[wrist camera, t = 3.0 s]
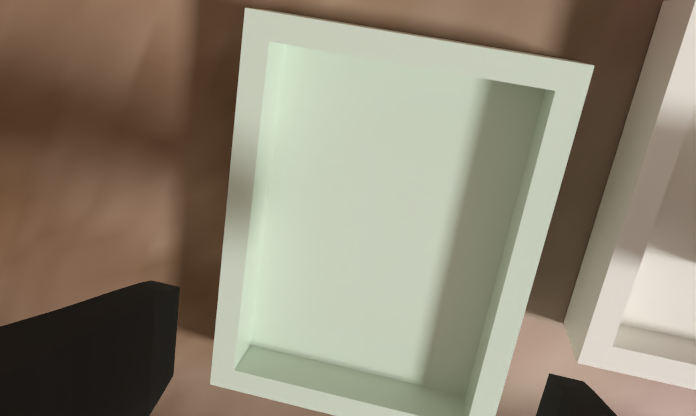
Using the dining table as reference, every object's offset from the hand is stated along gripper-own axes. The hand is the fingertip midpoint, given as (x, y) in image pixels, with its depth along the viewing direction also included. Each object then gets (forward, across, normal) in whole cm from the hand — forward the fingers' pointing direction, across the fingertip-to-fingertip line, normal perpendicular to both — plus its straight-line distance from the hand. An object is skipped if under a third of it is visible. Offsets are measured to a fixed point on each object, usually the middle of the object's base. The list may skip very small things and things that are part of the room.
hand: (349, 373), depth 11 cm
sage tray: (+10, 0, 0) cm, 10 cm away
